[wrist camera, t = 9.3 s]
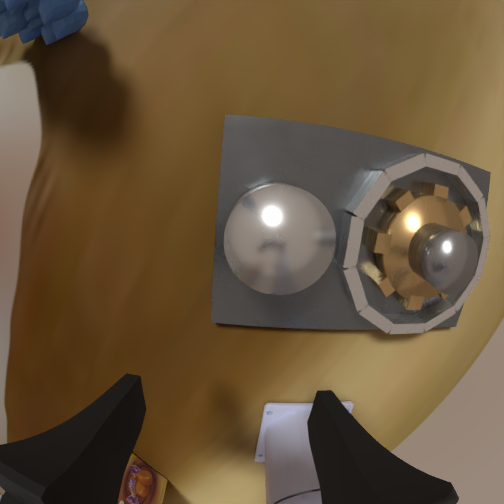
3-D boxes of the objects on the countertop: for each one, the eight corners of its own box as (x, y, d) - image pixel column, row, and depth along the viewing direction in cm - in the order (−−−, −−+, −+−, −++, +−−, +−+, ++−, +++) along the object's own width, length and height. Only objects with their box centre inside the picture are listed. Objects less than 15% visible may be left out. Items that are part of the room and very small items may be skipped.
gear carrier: (449, 321, 21) (474, 344, 17) (212, 315, 20) (205, 347, 16) (482, 171, 17) (516, 176, 13) (226, 117, 16) (220, 103, 12)
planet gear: (444, 302, 19) (477, 329, 15) (353, 297, 19) (378, 332, 14) (470, 196, 17) (511, 205, 12) (377, 170, 16) (414, 173, 12)
